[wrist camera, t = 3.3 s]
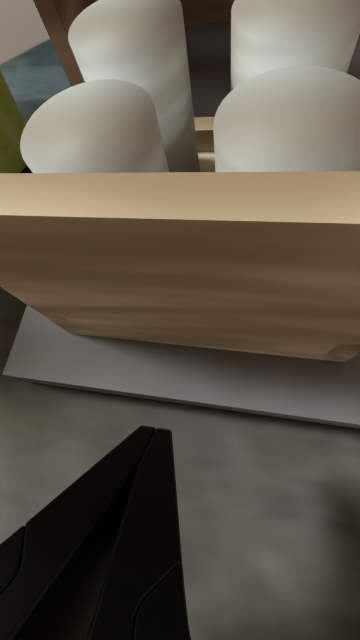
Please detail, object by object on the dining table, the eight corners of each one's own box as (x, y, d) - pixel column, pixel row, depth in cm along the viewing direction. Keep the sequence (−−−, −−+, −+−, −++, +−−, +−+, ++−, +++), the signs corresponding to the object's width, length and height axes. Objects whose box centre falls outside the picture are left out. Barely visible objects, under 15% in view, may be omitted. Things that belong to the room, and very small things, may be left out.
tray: (344, 362, 13) (547, 228, 5) (70, 333, 16) (-111, 212, 7) (337, 154, 17) (438, -111, 9) (120, 158, 20) (41, -47, 11)
